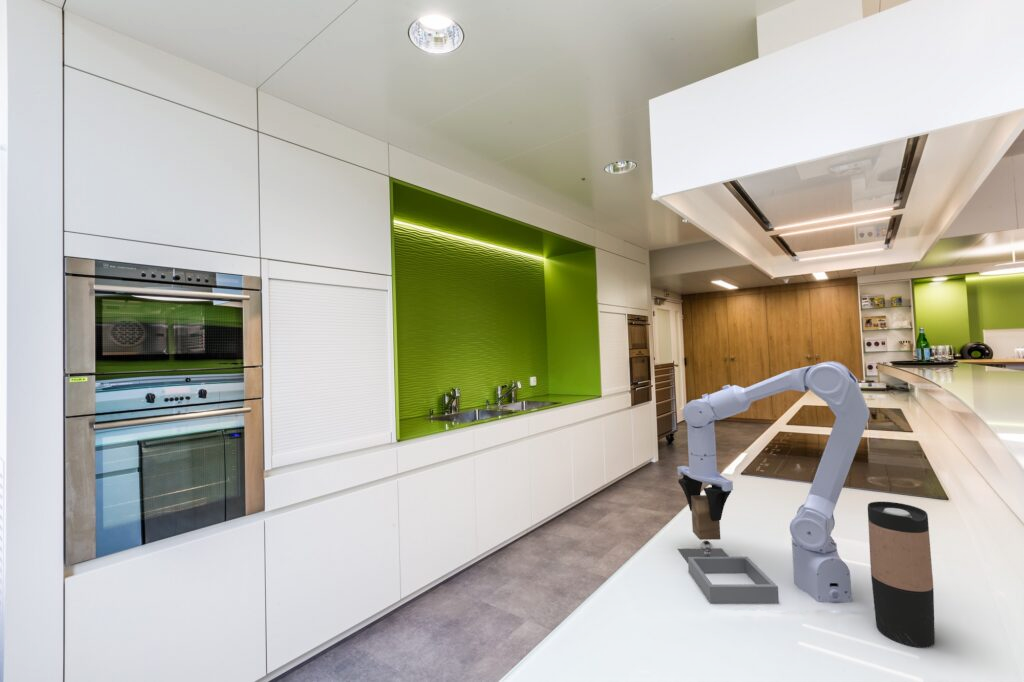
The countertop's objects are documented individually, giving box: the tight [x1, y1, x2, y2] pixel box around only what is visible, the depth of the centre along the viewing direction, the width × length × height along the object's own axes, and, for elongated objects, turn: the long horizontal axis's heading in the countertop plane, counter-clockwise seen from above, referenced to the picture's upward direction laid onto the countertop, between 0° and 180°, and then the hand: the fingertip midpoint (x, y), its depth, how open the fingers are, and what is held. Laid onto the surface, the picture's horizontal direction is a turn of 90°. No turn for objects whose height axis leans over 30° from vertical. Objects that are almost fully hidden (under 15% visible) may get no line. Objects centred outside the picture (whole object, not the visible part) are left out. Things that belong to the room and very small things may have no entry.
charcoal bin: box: [687, 556, 780, 605], centre depth 87 cm, size 12×12×4 cm
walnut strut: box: [691, 494, 721, 541], centre depth 99 cm, size 4×4×8 cm
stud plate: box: [677, 540, 730, 564], centre depth 99 cm, size 10×10×5 cm
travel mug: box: [867, 501, 936, 649], centre depth 73 cm, size 8×8×20 cm
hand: (705, 515), depth 99 cm, fingers closed on walnut strut, 6 cm apart
